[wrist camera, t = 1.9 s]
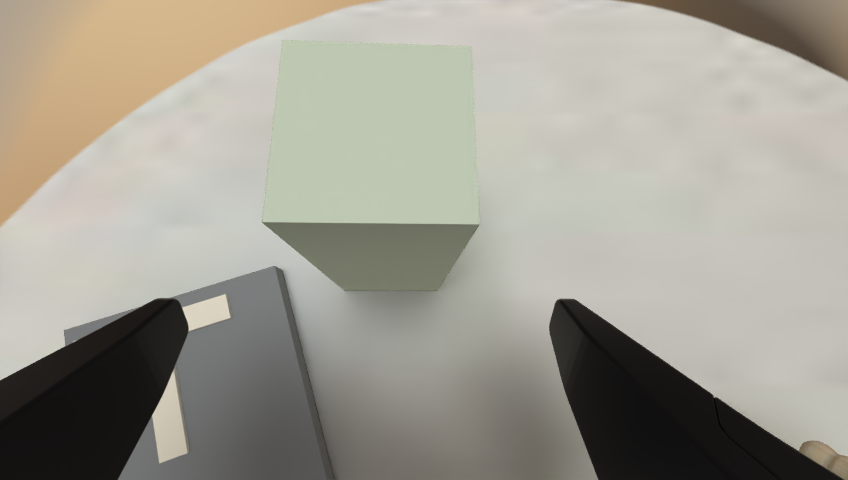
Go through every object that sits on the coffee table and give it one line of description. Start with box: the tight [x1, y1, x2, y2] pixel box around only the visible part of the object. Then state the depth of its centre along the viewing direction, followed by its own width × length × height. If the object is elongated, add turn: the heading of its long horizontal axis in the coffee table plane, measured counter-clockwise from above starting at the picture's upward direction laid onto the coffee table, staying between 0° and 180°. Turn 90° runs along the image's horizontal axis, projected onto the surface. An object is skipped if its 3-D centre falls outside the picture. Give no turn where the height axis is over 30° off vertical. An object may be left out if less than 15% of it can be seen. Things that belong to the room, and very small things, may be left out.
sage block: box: [262, 40, 480, 291], centre depth 15 cm, size 5×5×12 cm
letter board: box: [64, 266, 334, 480], centre depth 17 cm, size 13×10×1 cm
